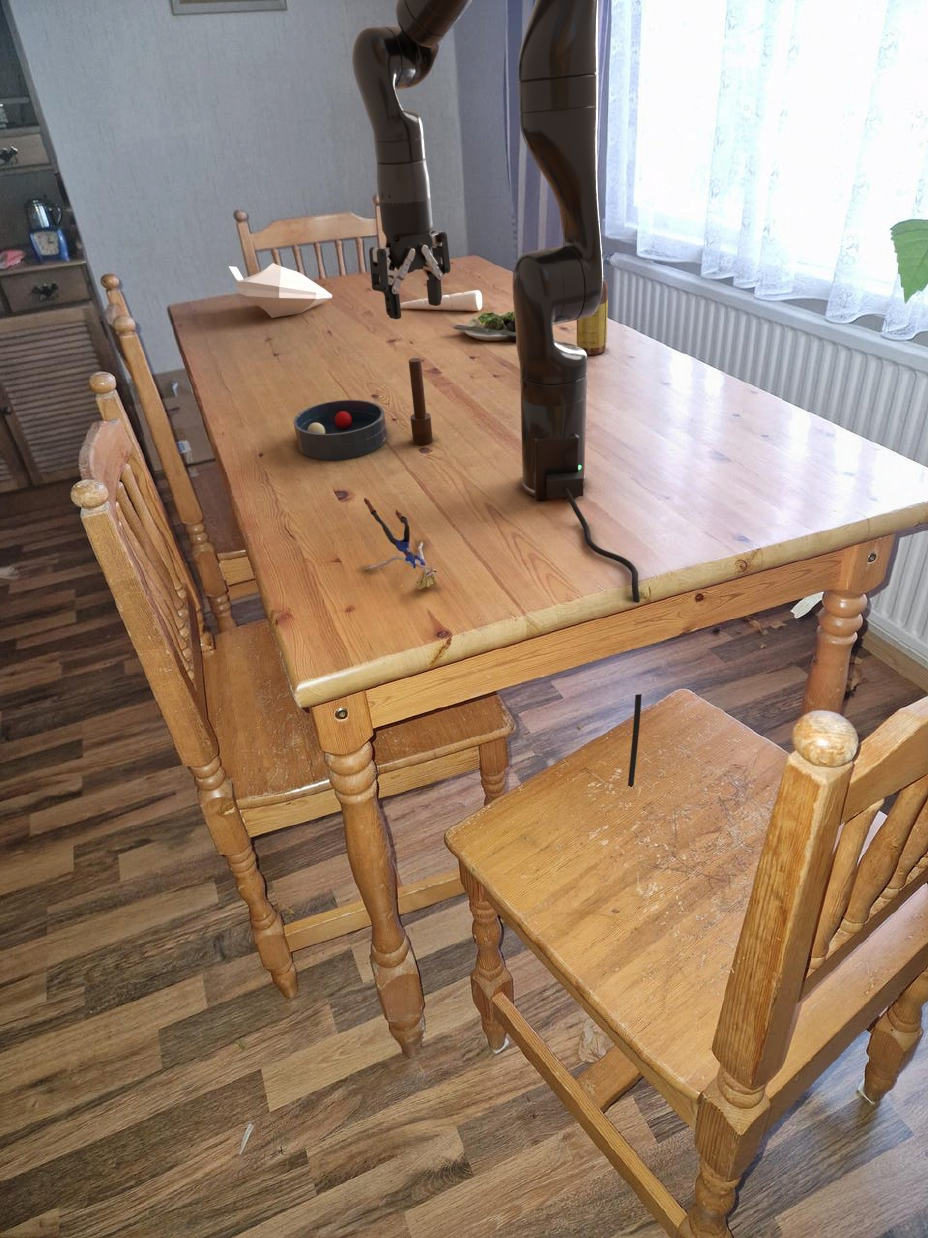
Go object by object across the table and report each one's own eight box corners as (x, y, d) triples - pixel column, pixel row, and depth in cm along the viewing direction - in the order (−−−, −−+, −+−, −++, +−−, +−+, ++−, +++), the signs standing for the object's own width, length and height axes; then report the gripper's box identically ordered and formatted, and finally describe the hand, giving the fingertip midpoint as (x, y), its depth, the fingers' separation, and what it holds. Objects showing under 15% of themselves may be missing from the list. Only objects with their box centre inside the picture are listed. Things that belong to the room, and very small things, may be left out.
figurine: (410, 648, 103) (351, 545, 114) (468, 613, 103) (404, 513, 114) (383, 608, 94) (322, 500, 105) (447, 570, 94) (380, 466, 105)
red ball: (352, 430, 142) (349, 414, 141) (335, 432, 142) (332, 415, 141) (353, 424, 145) (351, 408, 143) (337, 425, 145) (334, 409, 143)
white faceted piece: (348, 304, 213) (341, 253, 205) (284, 330, 197) (274, 276, 190) (280, 295, 225) (271, 247, 217) (214, 319, 209) (202, 268, 202)
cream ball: (325, 442, 139) (322, 426, 137) (307, 443, 139) (304, 427, 137) (327, 435, 141) (324, 419, 140) (310, 436, 141) (307, 420, 140)
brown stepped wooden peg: (432, 444, 137) (425, 362, 129) (412, 446, 137) (403, 364, 129) (432, 436, 140) (425, 355, 131) (413, 437, 140) (404, 357, 131)
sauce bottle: (586, 344, 174) (589, 245, 162) (612, 349, 170) (616, 247, 159) (569, 353, 170) (571, 252, 158) (595, 358, 166) (598, 255, 155)
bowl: (384, 456, 134) (381, 431, 132) (292, 463, 134) (287, 437, 132) (389, 420, 147) (386, 396, 144) (304, 426, 147) (300, 402, 144)
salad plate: (448, 345, 179) (447, 324, 177) (459, 321, 193) (458, 301, 191) (536, 343, 177) (536, 322, 174) (540, 319, 191) (540, 299, 188)
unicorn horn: (398, 303, 210) (396, 284, 207) (484, 308, 202) (483, 288, 199) (390, 309, 206) (388, 289, 203) (477, 313, 198) (476, 293, 195)
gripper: (384, 206, 111) (398, 327, 120) (457, 189, 119) (464, 303, 128) (350, 202, 115) (365, 319, 125) (422, 186, 123) (431, 297, 133)
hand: (415, 311), depth 127 cm, fingers open, 8 cm apart
